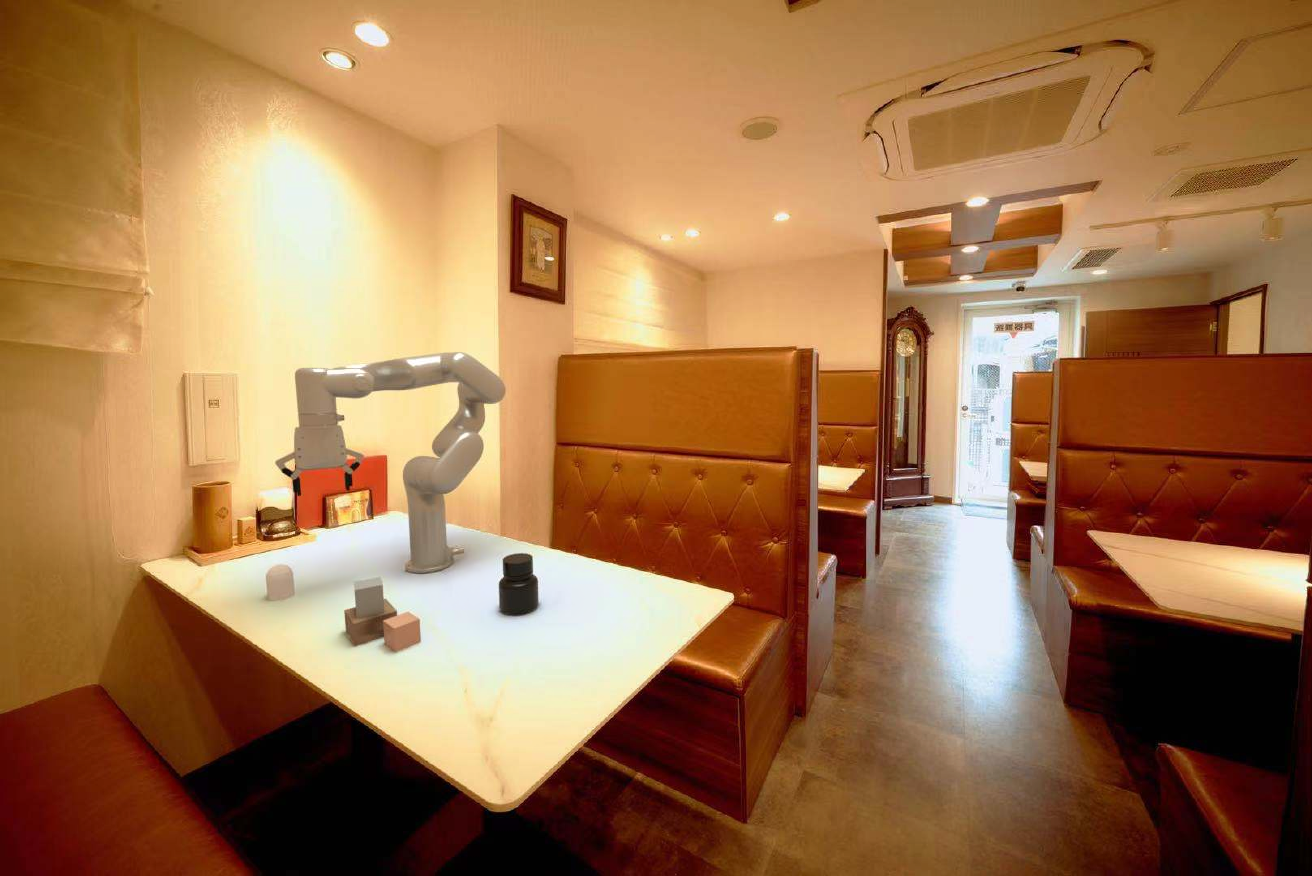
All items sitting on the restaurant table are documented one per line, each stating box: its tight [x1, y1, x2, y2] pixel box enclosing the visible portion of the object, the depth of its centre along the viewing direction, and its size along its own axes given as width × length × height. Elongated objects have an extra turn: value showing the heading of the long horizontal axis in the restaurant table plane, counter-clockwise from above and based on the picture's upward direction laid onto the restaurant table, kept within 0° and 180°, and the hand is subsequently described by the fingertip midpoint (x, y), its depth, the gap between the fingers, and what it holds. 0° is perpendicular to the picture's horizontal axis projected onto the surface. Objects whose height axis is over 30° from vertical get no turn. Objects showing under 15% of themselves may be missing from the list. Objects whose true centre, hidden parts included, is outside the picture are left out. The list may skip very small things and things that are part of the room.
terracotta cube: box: [383, 611, 422, 653], centre depth 100 cm, size 5×5×5 cm
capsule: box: [265, 563, 296, 602], centre depth 120 cm, size 5×5×8 cm
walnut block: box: [343, 598, 398, 647], centre depth 104 cm, size 8×8×5 cm
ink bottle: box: [498, 552, 540, 616], centre depth 115 cm, size 10×9×12 cm
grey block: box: [353, 576, 385, 618], centre depth 103 cm, size 5×5×6 cm
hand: (324, 492), depth 117 cm, fingers open, 9 cm apart
